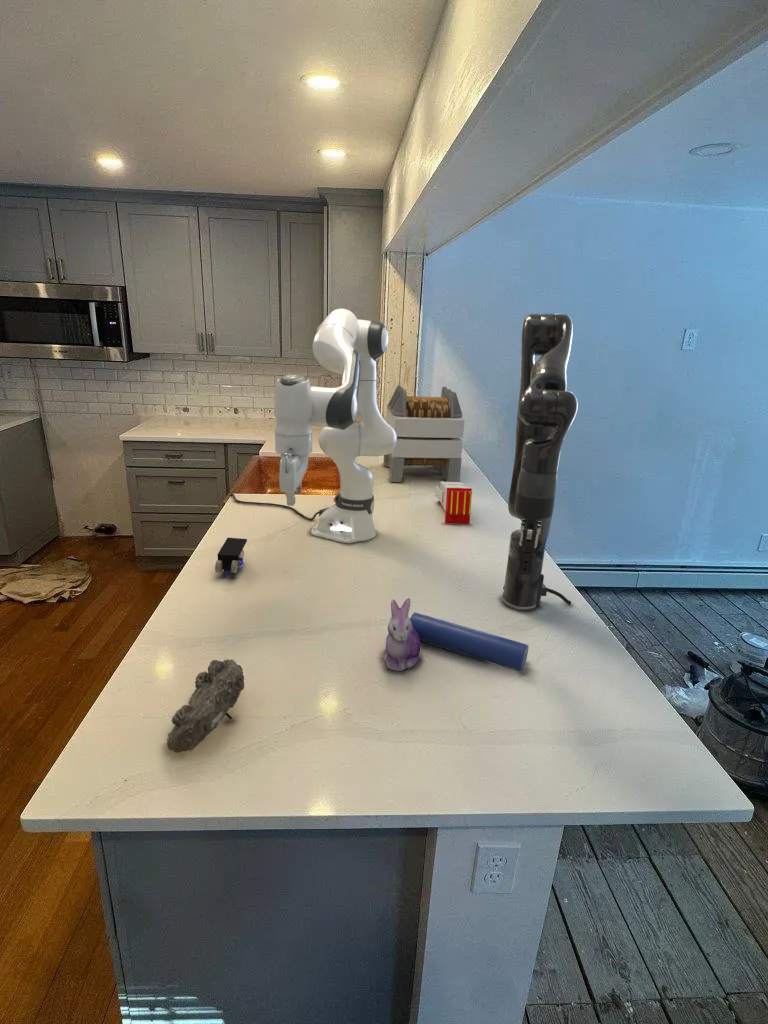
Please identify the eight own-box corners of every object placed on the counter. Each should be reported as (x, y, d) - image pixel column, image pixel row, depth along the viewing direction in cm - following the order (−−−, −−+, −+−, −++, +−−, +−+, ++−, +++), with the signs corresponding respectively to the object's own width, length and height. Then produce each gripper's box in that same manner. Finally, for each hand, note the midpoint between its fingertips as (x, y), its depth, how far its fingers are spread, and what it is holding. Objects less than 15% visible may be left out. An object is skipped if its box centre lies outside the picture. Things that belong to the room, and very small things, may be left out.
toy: (463, 477, 236) (476, 489, 206) (461, 509, 239) (474, 525, 209) (433, 476, 235) (443, 488, 206) (432, 508, 238) (441, 524, 209)
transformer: (382, 463, 289) (386, 382, 275) (445, 464, 293) (451, 384, 279) (390, 482, 257) (394, 392, 243) (460, 483, 261) (468, 394, 247)
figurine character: (238, 584, 162) (249, 557, 175) (236, 562, 158) (247, 536, 172) (215, 584, 161) (227, 556, 175) (212, 561, 158) (225, 535, 171)
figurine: (394, 677, 122) (397, 616, 117) (372, 652, 130) (375, 594, 125) (431, 667, 126) (436, 607, 121) (408, 643, 134) (412, 587, 129)
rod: (404, 635, 134) (411, 610, 135) (412, 638, 139) (419, 614, 140) (519, 670, 122) (526, 643, 124) (523, 673, 128) (529, 646, 129)
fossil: (192, 660, 117) (244, 628, 112) (224, 691, 120) (276, 661, 115) (142, 746, 98) (202, 712, 93) (182, 779, 101) (242, 748, 96)
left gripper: (300, 455, 127) (300, 513, 131) (312, 436, 146) (312, 487, 151) (271, 454, 127) (273, 512, 131) (288, 434, 146) (288, 486, 151)
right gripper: (554, 504, 105) (542, 583, 111) (556, 484, 118) (545, 555, 124) (513, 499, 107) (503, 576, 113) (519, 479, 120) (510, 549, 126)
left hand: (294, 498), depth 141 cm, fingers open, 8 cm apart
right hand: (525, 565), depth 118 cm, fingers open, 8 cm apart
